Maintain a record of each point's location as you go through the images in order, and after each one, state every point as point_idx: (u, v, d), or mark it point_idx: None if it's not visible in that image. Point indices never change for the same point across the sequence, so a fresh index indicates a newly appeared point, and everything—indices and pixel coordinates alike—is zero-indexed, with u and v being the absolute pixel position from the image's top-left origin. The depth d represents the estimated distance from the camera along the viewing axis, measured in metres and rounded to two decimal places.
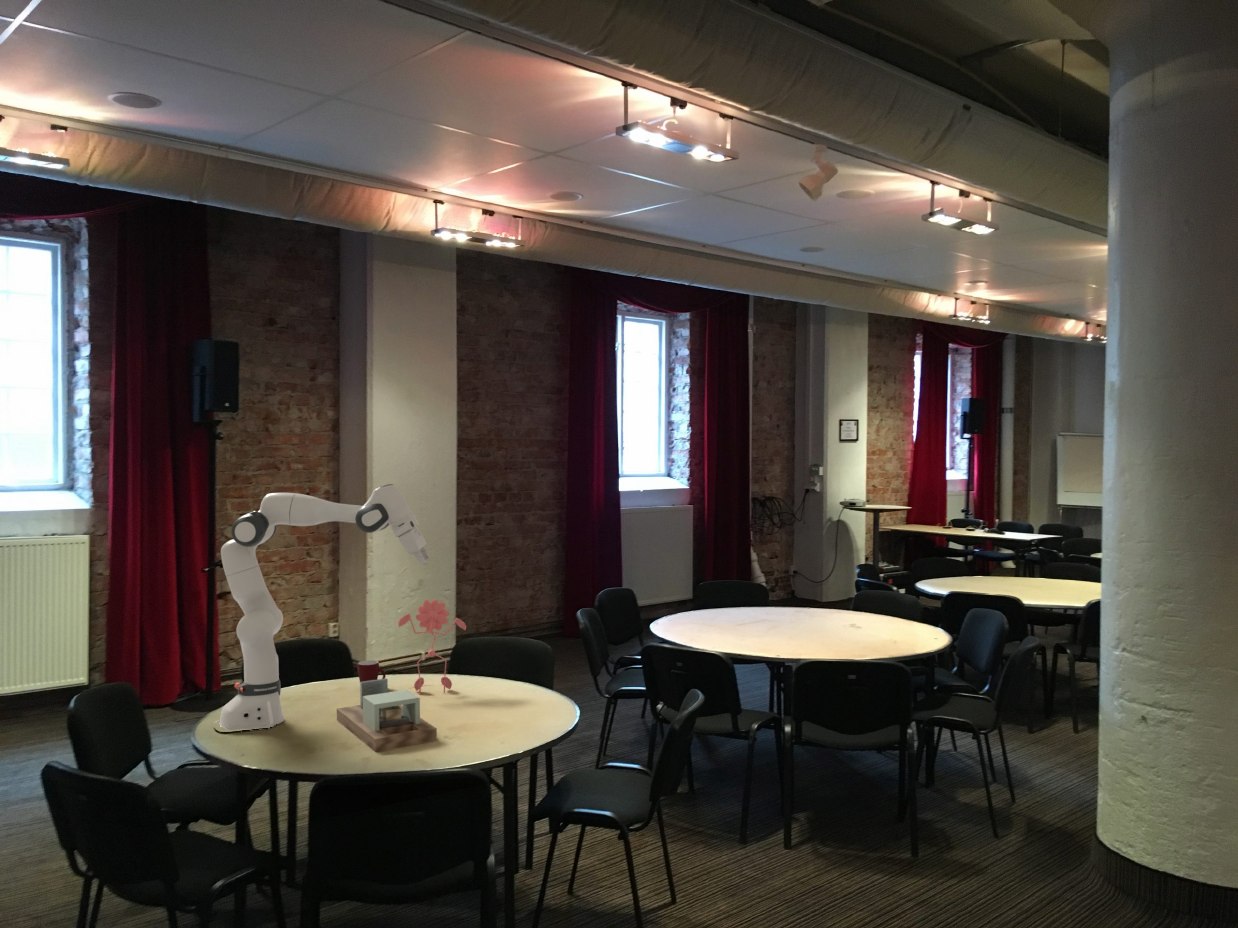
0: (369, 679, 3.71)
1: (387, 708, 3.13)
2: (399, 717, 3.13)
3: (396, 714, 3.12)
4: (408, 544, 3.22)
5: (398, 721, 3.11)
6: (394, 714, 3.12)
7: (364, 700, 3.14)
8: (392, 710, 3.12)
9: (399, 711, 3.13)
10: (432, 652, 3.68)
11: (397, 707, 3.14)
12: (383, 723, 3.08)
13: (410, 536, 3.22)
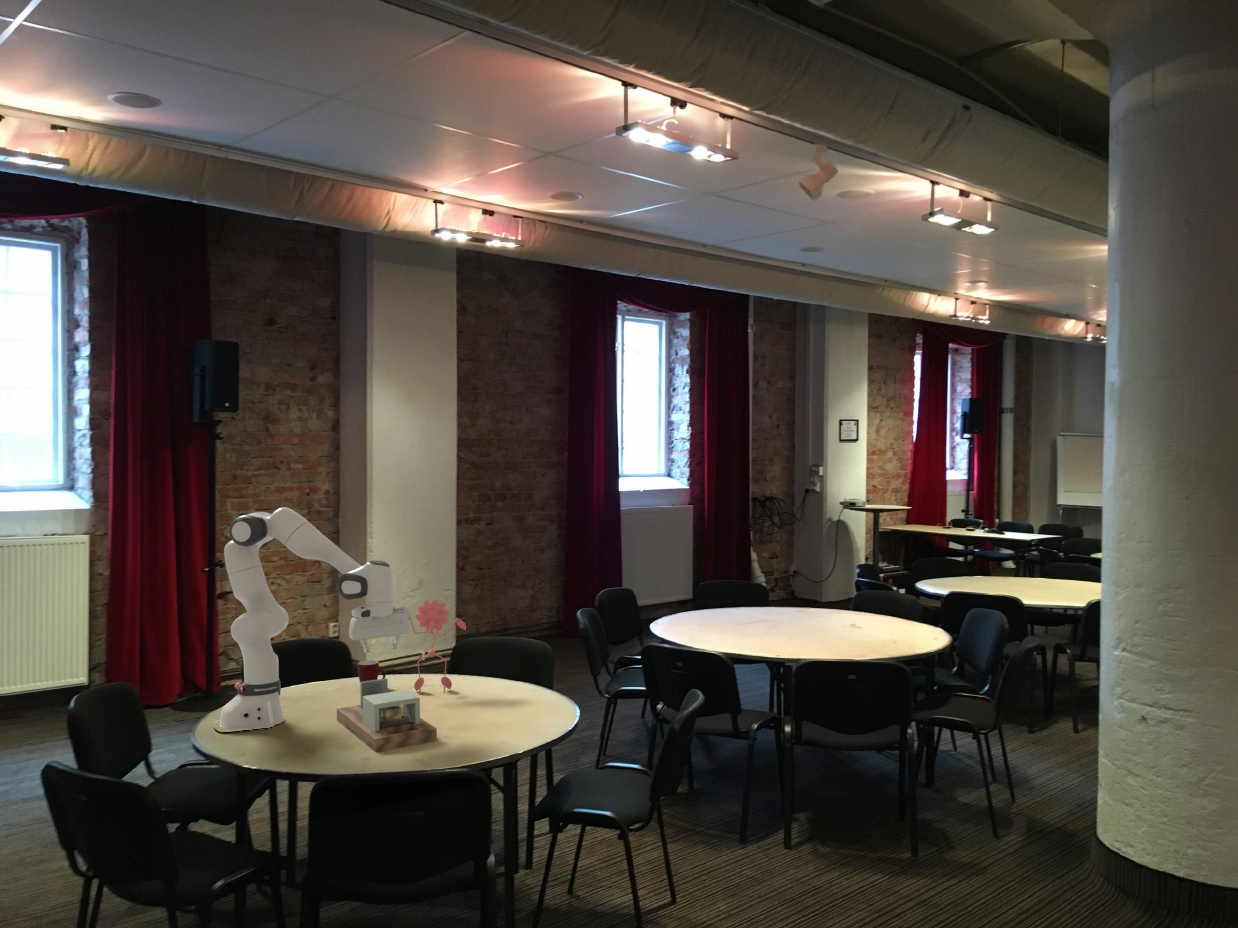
0: (369, 679, 3.71)
1: (387, 708, 3.13)
2: (399, 717, 3.13)
3: (396, 714, 3.12)
4: (350, 629, 3.18)
5: (398, 721, 3.11)
6: (394, 714, 3.12)
7: (364, 700, 3.14)
8: (392, 710, 3.12)
9: (399, 711, 3.13)
10: (432, 652, 3.68)
11: (397, 707, 3.14)
12: (383, 723, 3.08)
13: (353, 624, 3.17)
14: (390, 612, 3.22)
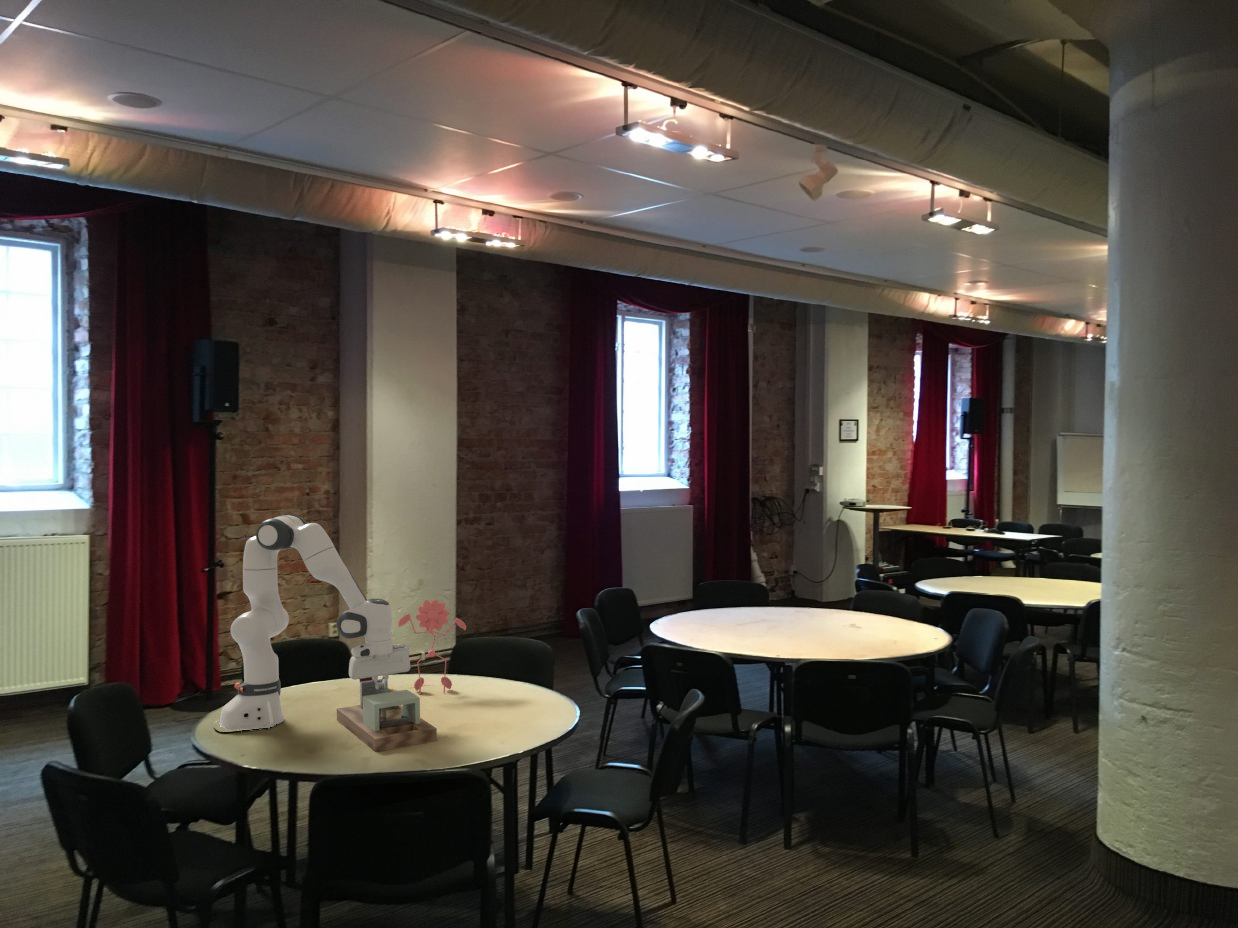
0: (369, 679, 3.71)
1: (387, 708, 3.13)
2: (399, 717, 3.13)
3: (396, 714, 3.12)
4: (350, 668, 3.19)
5: (398, 721, 3.11)
6: (394, 714, 3.12)
7: (364, 700, 3.14)
8: (392, 710, 3.12)
9: (399, 711, 3.13)
10: (432, 652, 3.68)
11: (397, 707, 3.14)
12: (383, 723, 3.08)
13: (352, 663, 3.17)
14: (390, 650, 3.22)
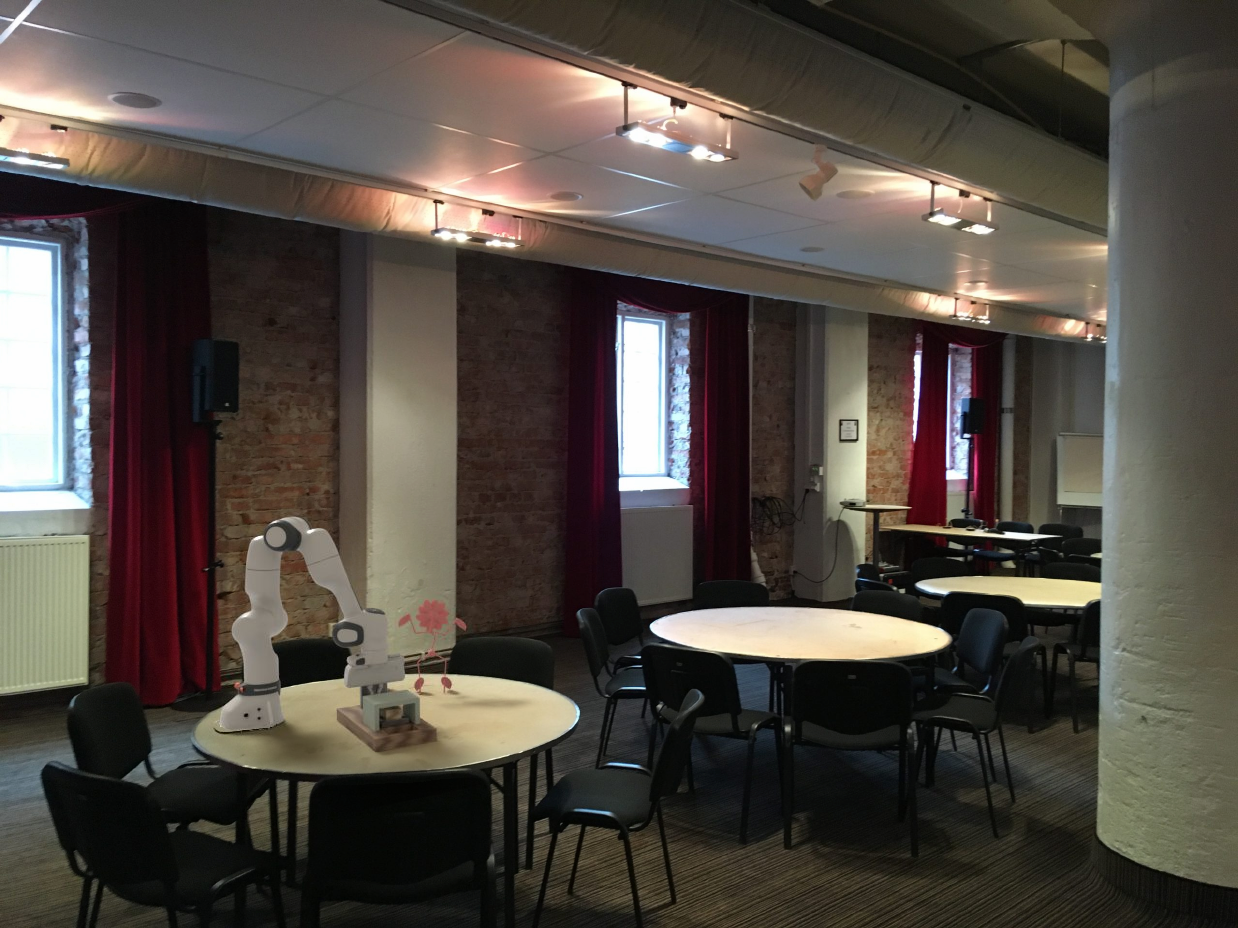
0: None
1: (387, 708, 3.13)
2: (399, 717, 3.13)
3: (396, 714, 3.12)
4: (345, 676, 3.22)
5: (398, 721, 3.11)
6: (394, 714, 3.12)
7: (364, 700, 3.14)
8: (392, 710, 3.12)
9: (399, 711, 3.13)
10: (432, 652, 3.68)
11: (397, 707, 3.14)
12: (383, 723, 3.08)
13: (347, 672, 3.21)
14: (385, 660, 3.25)
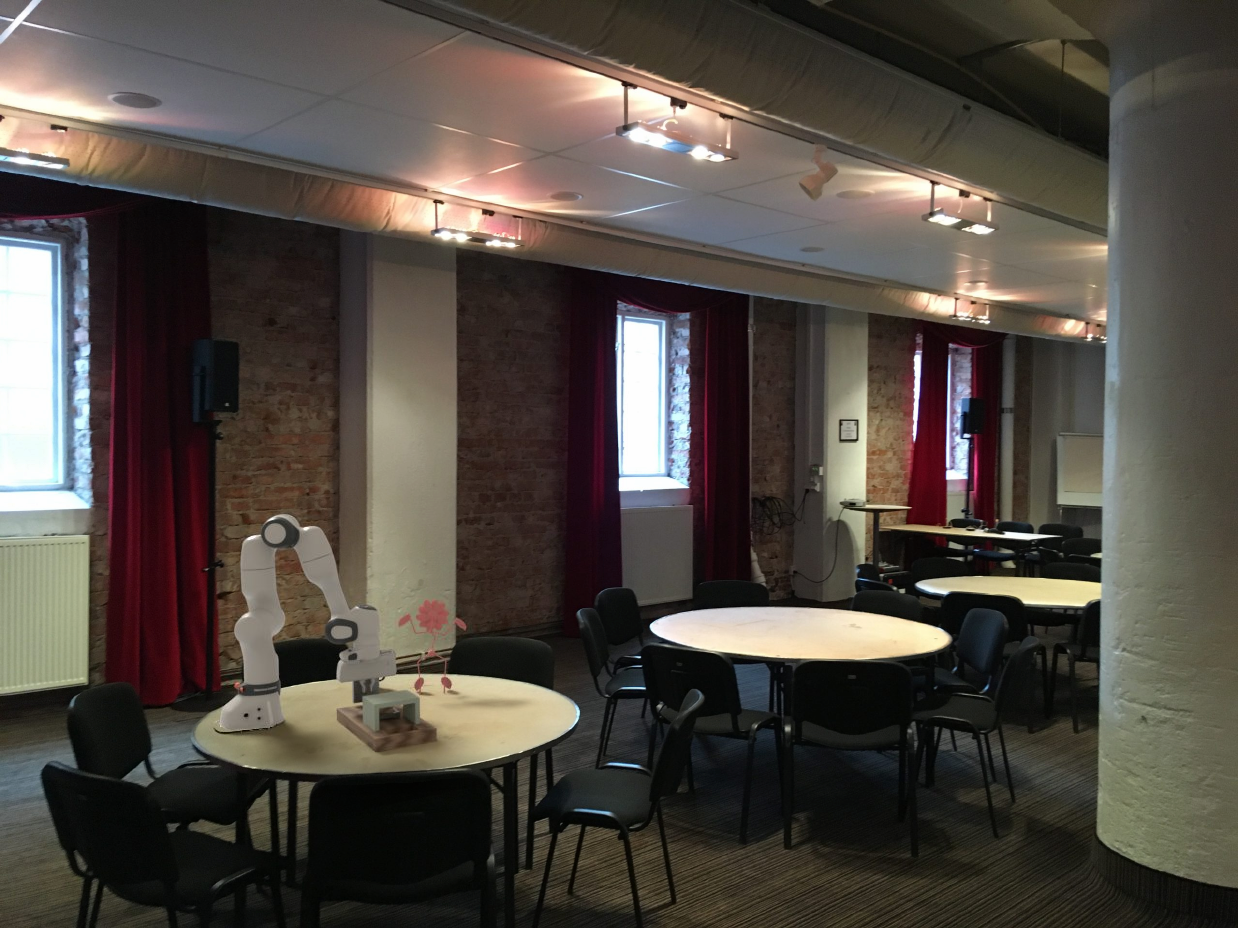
0: None
1: None
2: (391, 711, 3.20)
3: (388, 709, 3.19)
4: (337, 671, 3.29)
5: (389, 715, 3.18)
6: (386, 708, 3.19)
7: (364, 700, 3.14)
8: None
9: None
10: (432, 652, 3.68)
11: None
12: None
13: (340, 667, 3.28)
14: (376, 655, 3.32)
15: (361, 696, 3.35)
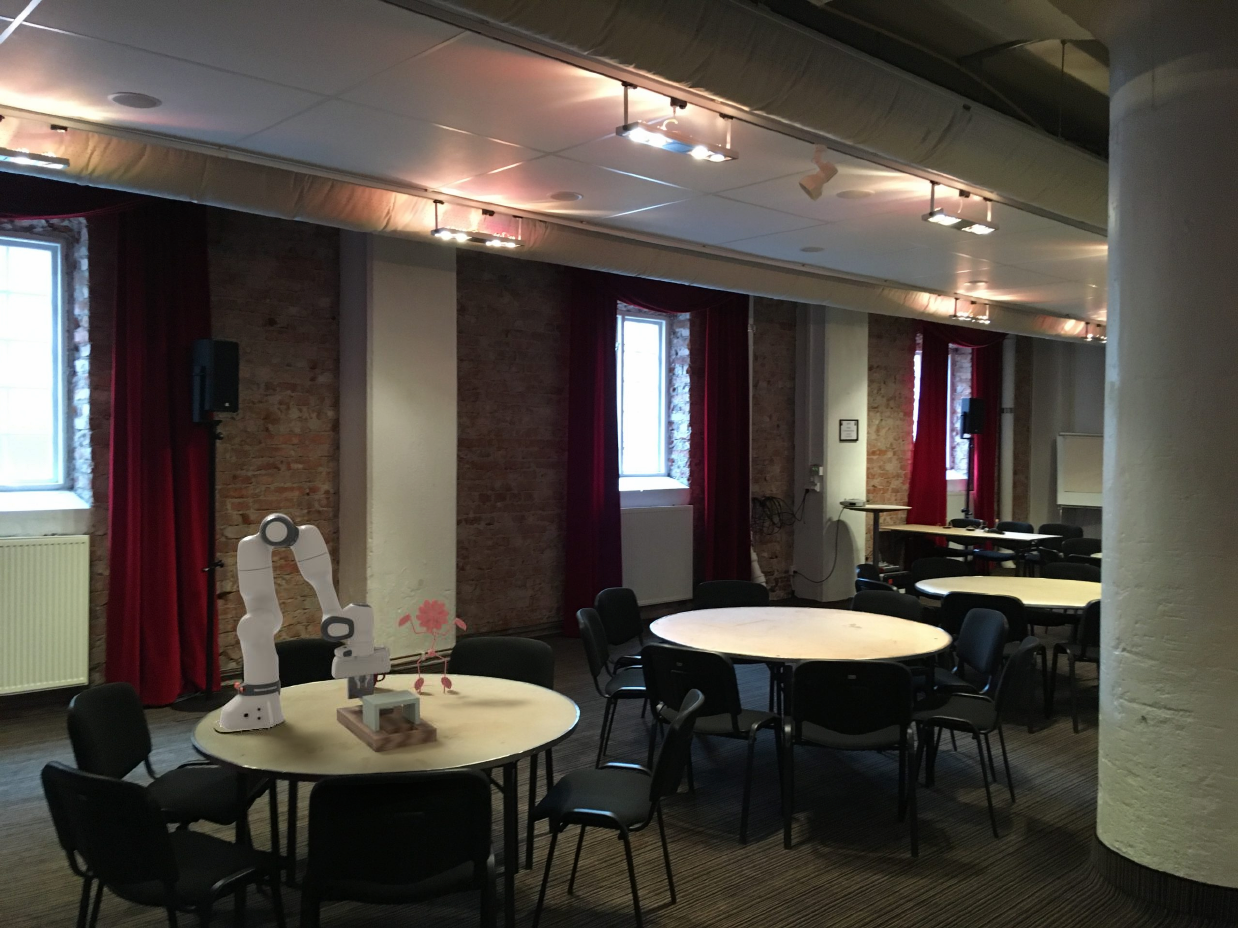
0: None
1: None
2: None
3: None
4: (333, 668, 3.35)
5: (383, 710, 3.23)
6: None
7: (364, 700, 3.14)
8: None
9: None
10: (432, 652, 3.68)
11: None
12: None
13: (335, 663, 3.33)
14: (371, 652, 3.38)
15: (356, 692, 3.40)
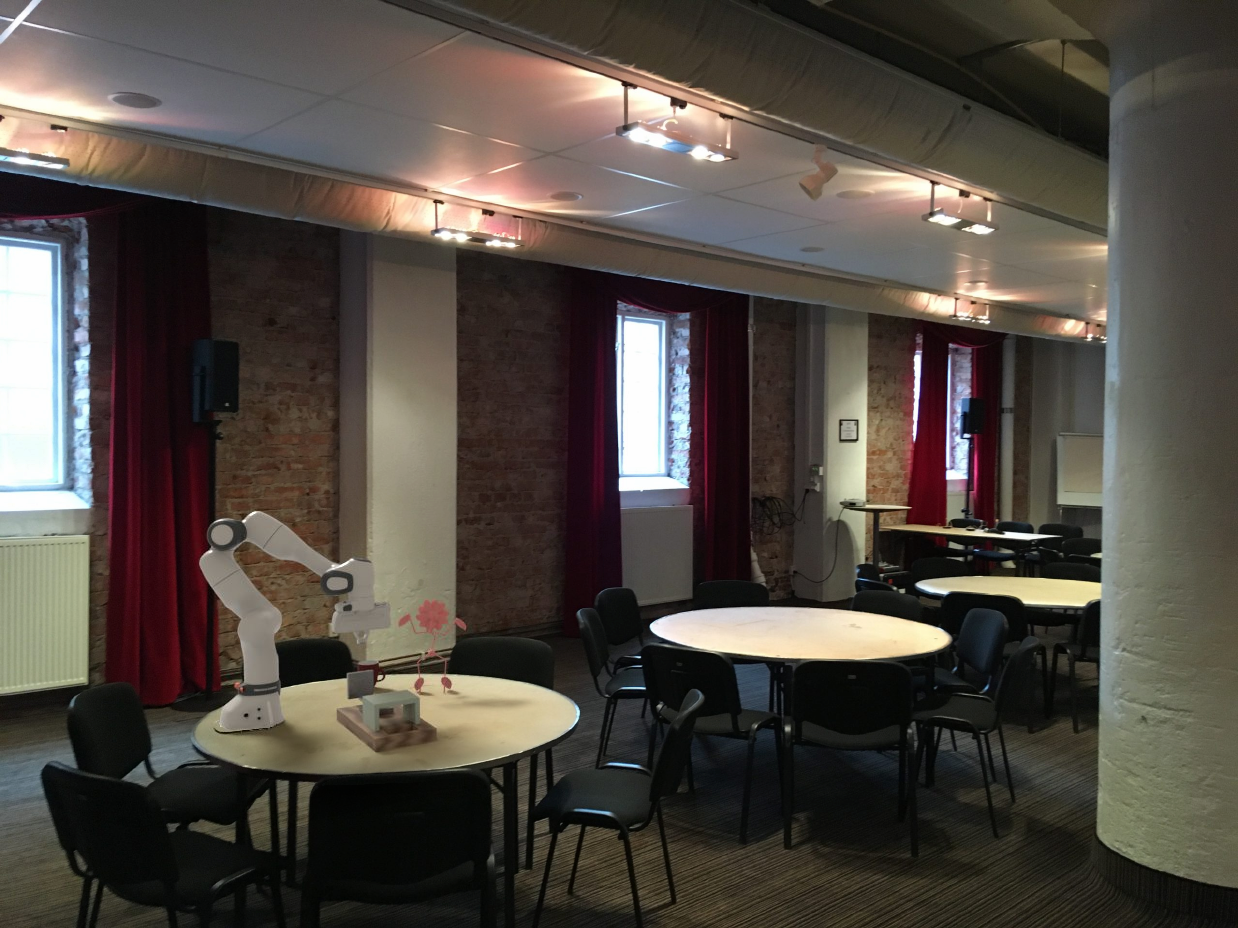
0: None
1: None
2: None
3: None
4: (332, 622, 3.33)
5: (383, 710, 3.24)
6: None
7: (364, 700, 3.14)
8: None
9: None
10: (432, 652, 3.68)
11: None
12: None
13: (335, 618, 3.32)
14: (371, 607, 3.36)
15: (356, 692, 3.40)
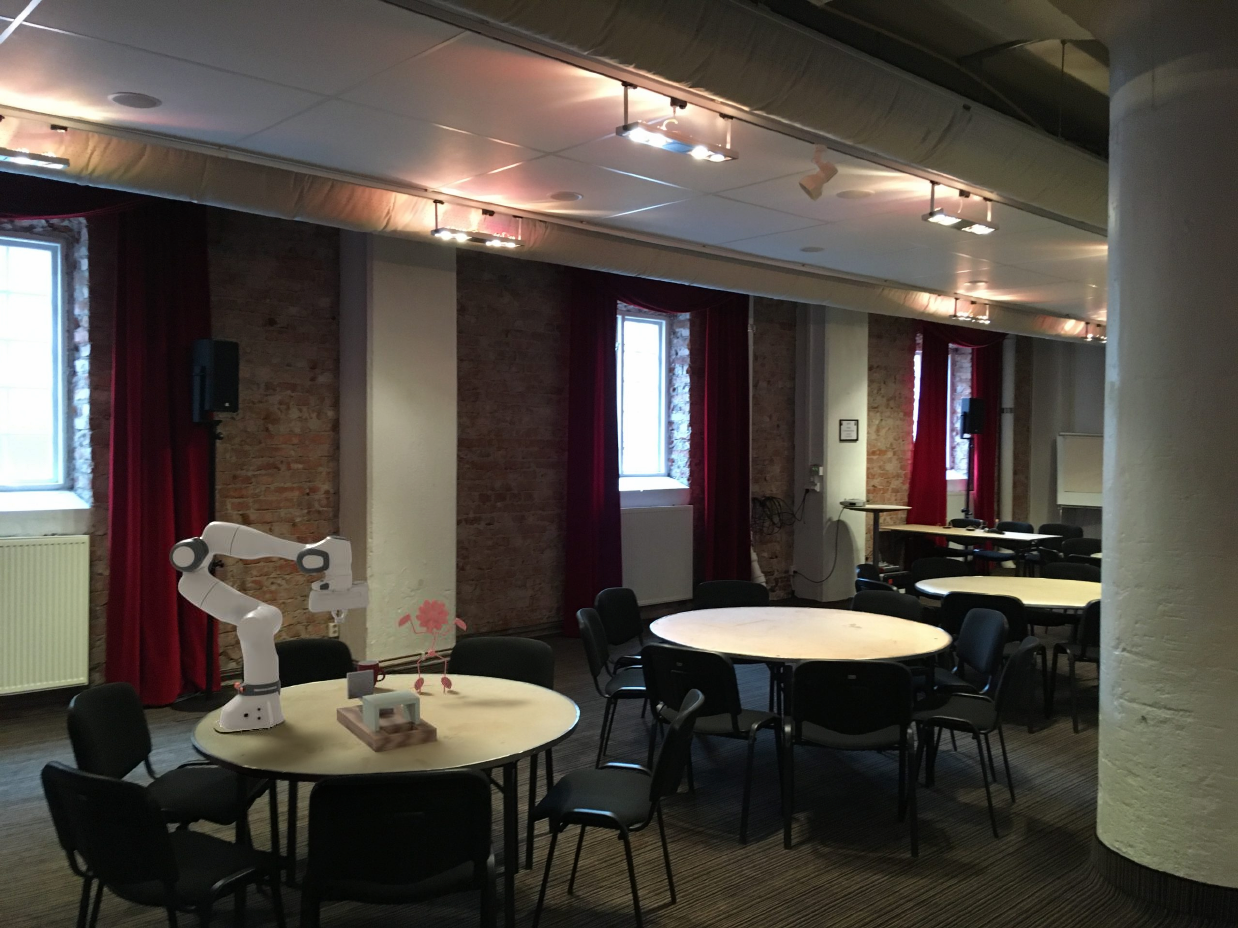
0: None
1: None
2: None
3: None
4: (309, 601, 3.29)
5: (383, 710, 3.24)
6: None
7: (364, 700, 3.14)
8: None
9: None
10: (432, 652, 3.68)
11: None
12: None
13: (312, 596, 3.27)
14: (349, 585, 3.32)
15: (356, 692, 3.40)
